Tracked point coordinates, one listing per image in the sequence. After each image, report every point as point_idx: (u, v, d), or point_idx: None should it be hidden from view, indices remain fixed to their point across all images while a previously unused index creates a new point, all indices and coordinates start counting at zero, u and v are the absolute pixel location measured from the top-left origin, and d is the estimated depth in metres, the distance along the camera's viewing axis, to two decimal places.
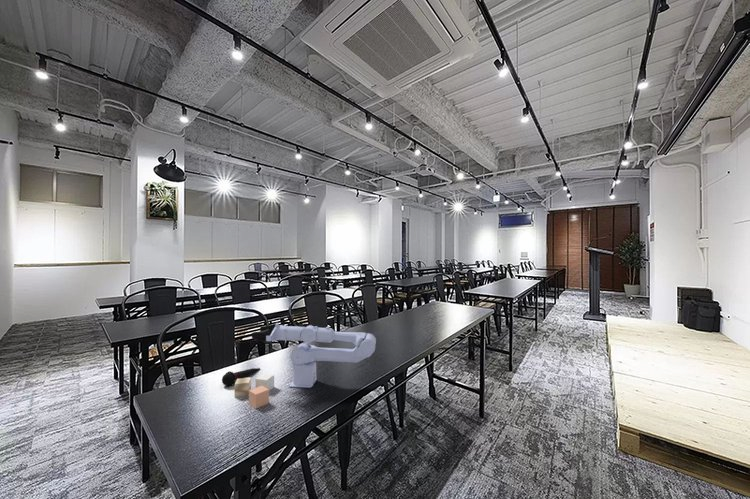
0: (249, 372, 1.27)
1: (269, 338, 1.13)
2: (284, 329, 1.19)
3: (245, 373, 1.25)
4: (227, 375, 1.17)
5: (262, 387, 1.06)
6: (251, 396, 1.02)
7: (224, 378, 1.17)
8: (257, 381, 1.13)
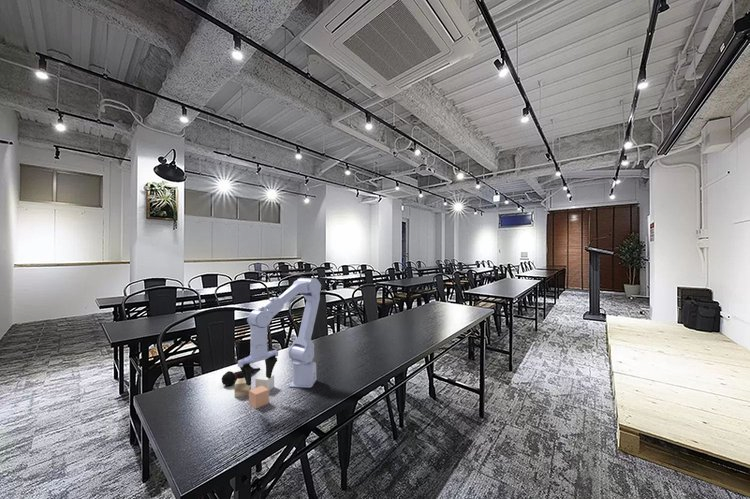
0: None
1: None
2: (266, 345, 1.04)
3: None
4: (227, 375, 1.18)
5: (262, 387, 1.06)
6: (251, 396, 1.02)
7: (224, 378, 1.17)
8: (257, 381, 1.13)
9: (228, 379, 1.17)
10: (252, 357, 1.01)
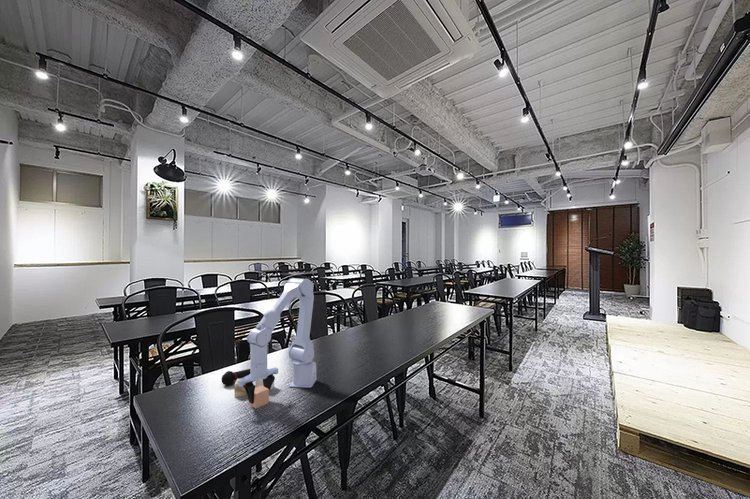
0: (249, 372, 1.28)
1: None
2: (266, 364, 1.04)
3: (245, 373, 1.26)
4: (226, 375, 1.18)
5: (262, 387, 1.06)
6: None
7: (223, 377, 1.17)
8: (257, 381, 1.13)
9: (228, 379, 1.17)
10: (252, 376, 1.01)
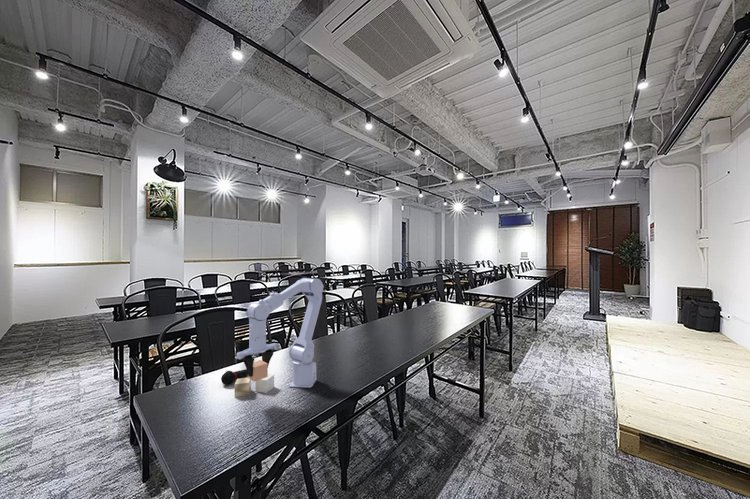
0: None
1: None
2: (265, 338, 1.05)
3: (245, 372, 1.26)
4: (226, 374, 1.18)
5: (261, 361, 1.07)
6: None
7: (223, 377, 1.17)
8: (257, 381, 1.13)
9: (227, 378, 1.17)
10: (251, 349, 1.03)
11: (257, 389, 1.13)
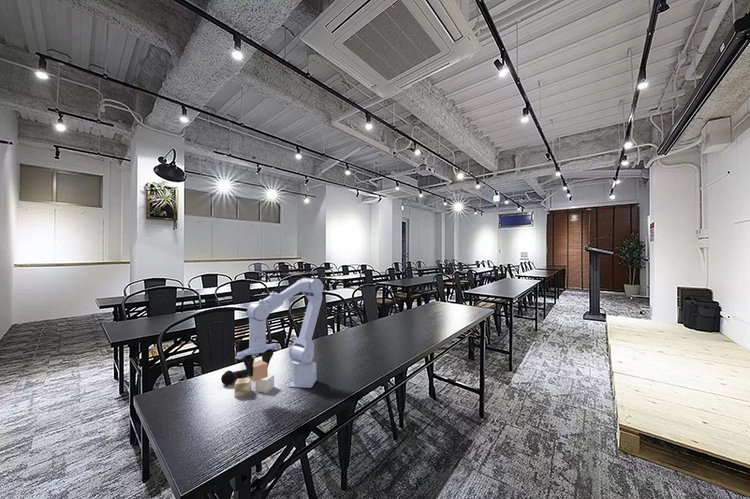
0: None
1: None
2: (265, 338, 1.05)
3: (245, 372, 1.26)
4: (226, 374, 1.18)
5: (261, 361, 1.07)
6: None
7: (223, 377, 1.18)
8: (257, 381, 1.13)
9: (227, 378, 1.17)
10: (251, 349, 1.03)
11: (257, 389, 1.13)
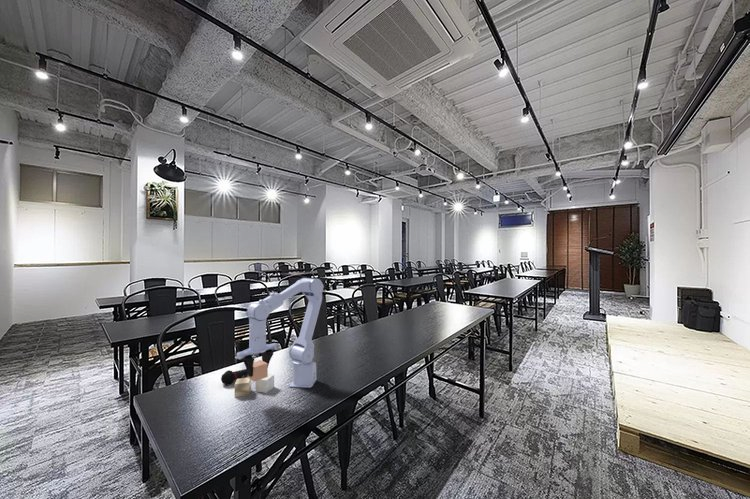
0: None
1: None
2: (265, 338, 1.05)
3: (245, 372, 1.26)
4: (226, 374, 1.18)
5: (261, 361, 1.07)
6: None
7: (223, 377, 1.18)
8: (257, 381, 1.13)
9: (227, 378, 1.18)
10: (251, 349, 1.03)
11: (257, 389, 1.13)
